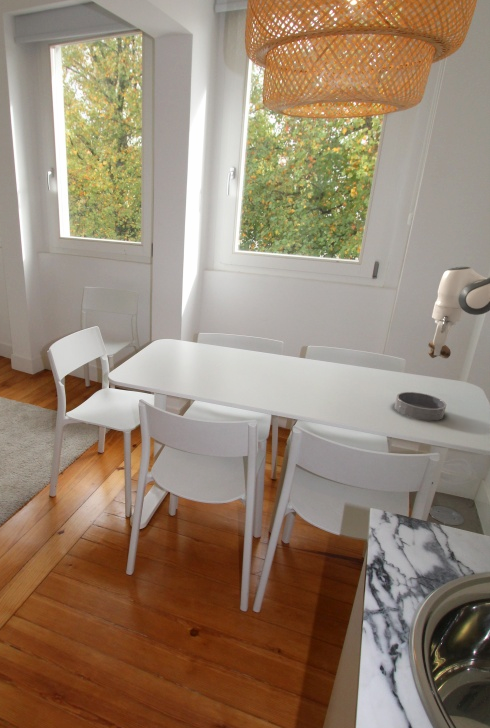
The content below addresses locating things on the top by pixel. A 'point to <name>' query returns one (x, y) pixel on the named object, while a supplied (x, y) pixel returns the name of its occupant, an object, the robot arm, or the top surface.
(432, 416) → the pan
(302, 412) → the top surface
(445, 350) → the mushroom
